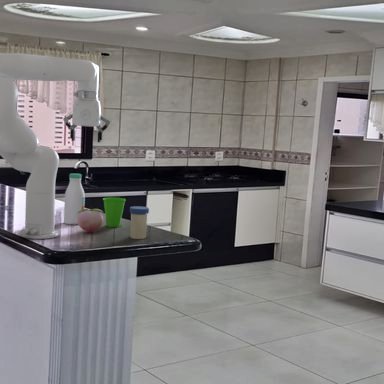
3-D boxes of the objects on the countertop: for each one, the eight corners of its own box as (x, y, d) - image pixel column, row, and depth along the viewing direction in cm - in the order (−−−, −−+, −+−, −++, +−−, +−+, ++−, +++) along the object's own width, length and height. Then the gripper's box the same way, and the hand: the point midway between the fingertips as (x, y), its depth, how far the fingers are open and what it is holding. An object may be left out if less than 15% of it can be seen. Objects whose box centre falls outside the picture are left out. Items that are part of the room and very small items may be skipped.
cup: (117, 223, 234) (118, 197, 233) (129, 227, 228) (130, 200, 227) (97, 225, 228) (98, 197, 227) (109, 228, 222) (110, 201, 220)
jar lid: (145, 214, 204) (145, 209, 204) (127, 213, 205) (127, 208, 204) (150, 212, 211) (151, 207, 210) (133, 210, 211) (133, 205, 211)
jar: (143, 239, 205) (144, 210, 204) (127, 238, 206) (129, 209, 205) (148, 236, 211) (149, 208, 210) (132, 235, 212) (134, 207, 211)
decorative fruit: (99, 230, 217) (100, 204, 216) (104, 234, 210) (105, 207, 209) (74, 230, 213) (75, 204, 212) (78, 235, 206) (79, 207, 205)
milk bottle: (77, 225, 224) (79, 175, 222) (60, 223, 225) (61, 173, 223) (87, 222, 231) (89, 174, 229) (70, 220, 233) (71, 172, 231)
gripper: (62, 94, 210) (60, 140, 212) (109, 97, 212) (107, 143, 214) (66, 95, 218) (65, 139, 220) (112, 98, 220) (110, 142, 222)
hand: (86, 141), depth 217 cm, fingers open, 9 cm apart
